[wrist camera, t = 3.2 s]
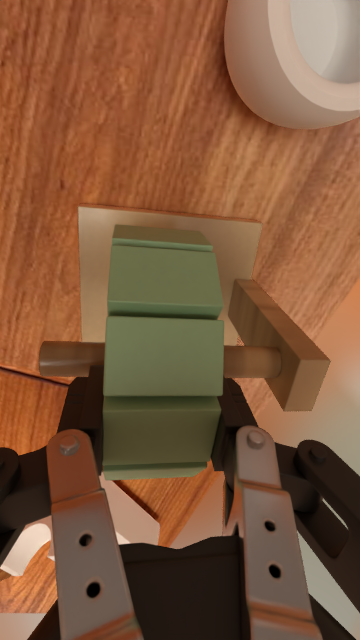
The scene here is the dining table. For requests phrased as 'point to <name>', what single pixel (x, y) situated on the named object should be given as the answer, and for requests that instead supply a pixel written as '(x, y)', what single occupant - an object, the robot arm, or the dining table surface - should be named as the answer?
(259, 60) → the mug
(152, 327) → the green grooved wheel
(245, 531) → the robot arm
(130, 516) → the bracket
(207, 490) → the dining table surface
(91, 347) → the peg stand with base
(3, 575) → the pastry
